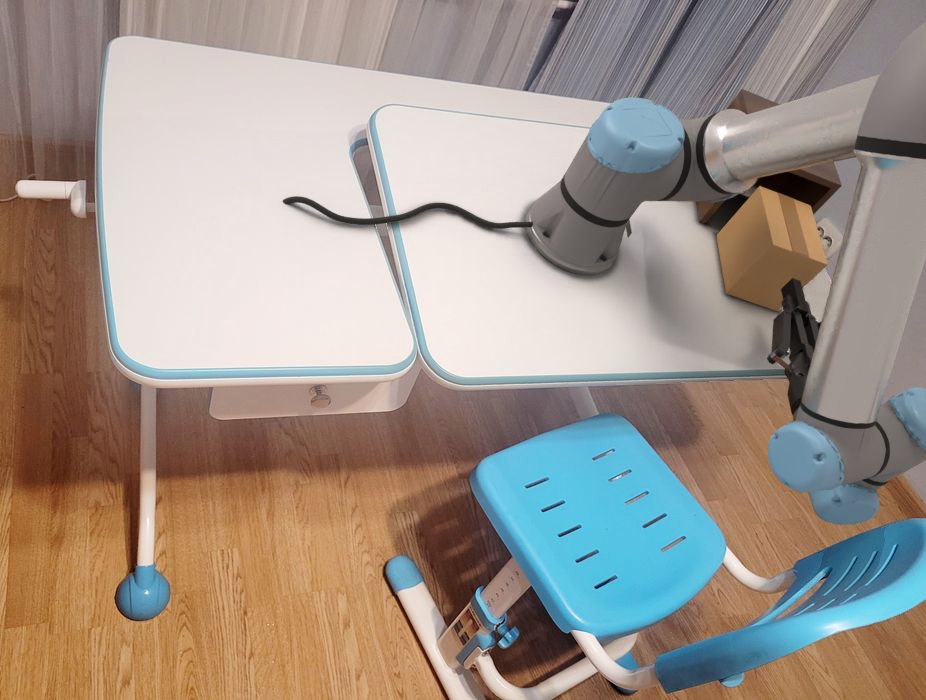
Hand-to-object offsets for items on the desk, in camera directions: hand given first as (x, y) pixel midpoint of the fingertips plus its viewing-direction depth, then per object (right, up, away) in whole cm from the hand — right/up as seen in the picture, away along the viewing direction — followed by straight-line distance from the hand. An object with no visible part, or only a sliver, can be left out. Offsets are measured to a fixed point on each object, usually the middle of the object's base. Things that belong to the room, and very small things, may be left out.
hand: (790, 285), depth 117 cm
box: (-2, +3, +13) cm, 14 cm away
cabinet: (0, +17, +24) cm, 29 cm away
